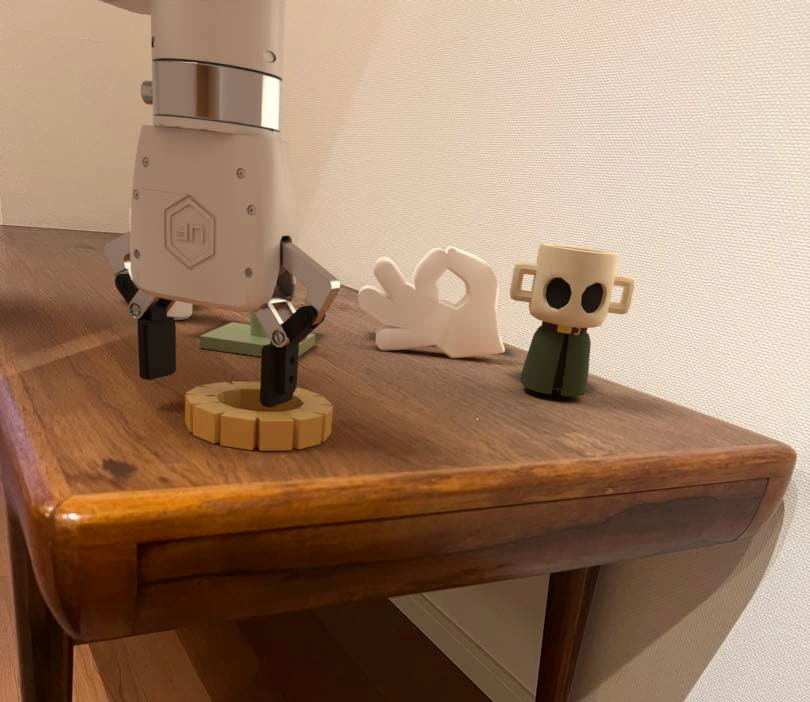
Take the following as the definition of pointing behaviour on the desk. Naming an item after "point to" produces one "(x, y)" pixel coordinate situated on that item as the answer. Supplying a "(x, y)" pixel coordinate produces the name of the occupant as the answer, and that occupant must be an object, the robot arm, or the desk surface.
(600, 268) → the character mug
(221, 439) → the ring
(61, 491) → the desk surface
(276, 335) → the robot arm
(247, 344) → the post
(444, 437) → the desk surface
